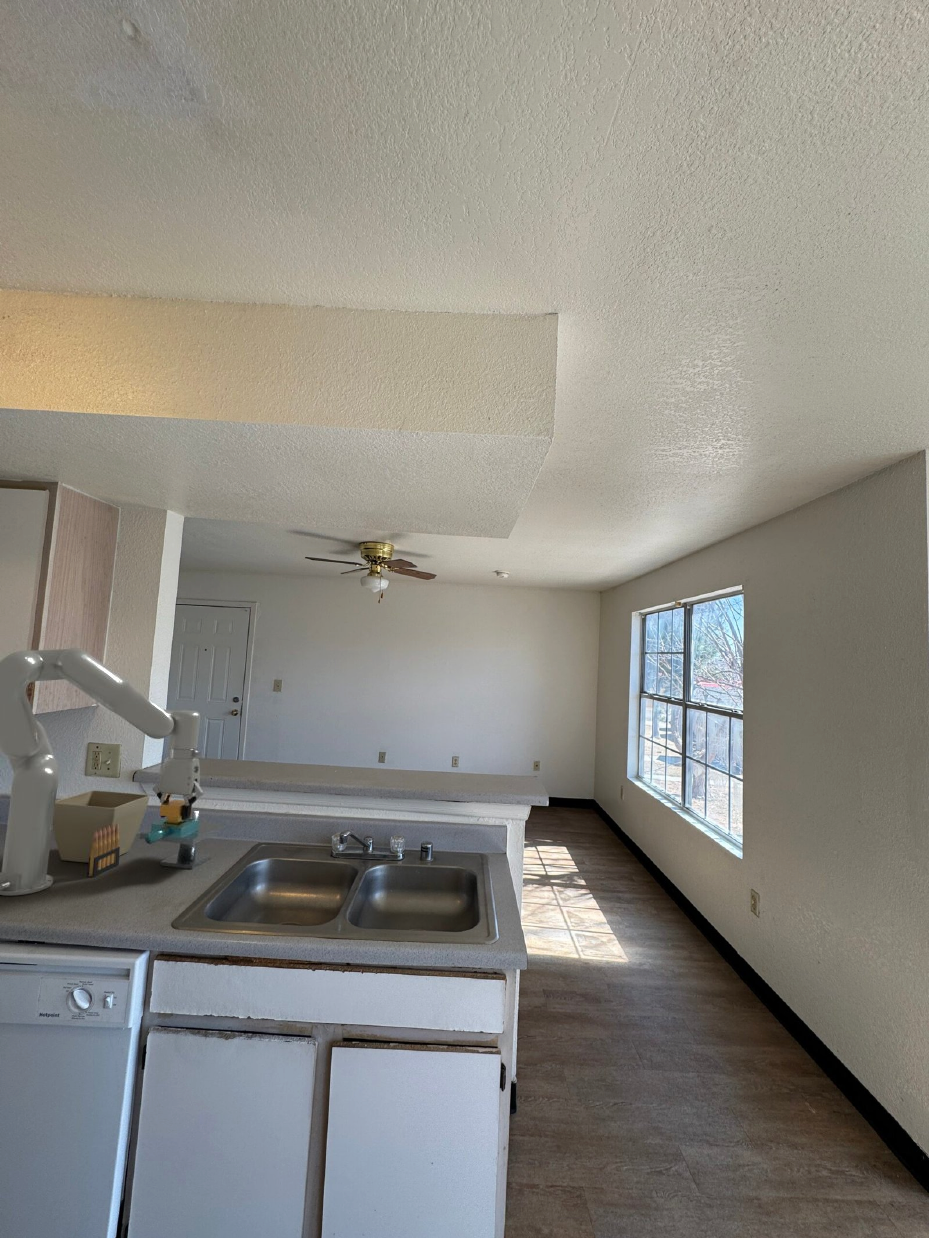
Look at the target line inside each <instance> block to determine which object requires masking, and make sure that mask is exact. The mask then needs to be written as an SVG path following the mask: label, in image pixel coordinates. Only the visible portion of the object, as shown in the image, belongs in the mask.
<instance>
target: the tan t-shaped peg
mask: <svg viewBox="0 0 929 1238" xmlns="http://www.w3.org/2000/svg"><path fill="white" fill-rule="evenodd" d="M184 805H185V803H184V800H182V799H173V800H169V802H167V803H164V804H162V803H161V804H160V809H159V810H160V811H159V816H160V817H161V816H166V818H167V822H166V824H173V825H180V824H182V823H183V820H182V819H181V817H182V810H183V806H184ZM192 808H193V807H192ZM192 808H191V811H192Z"/></svg>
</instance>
